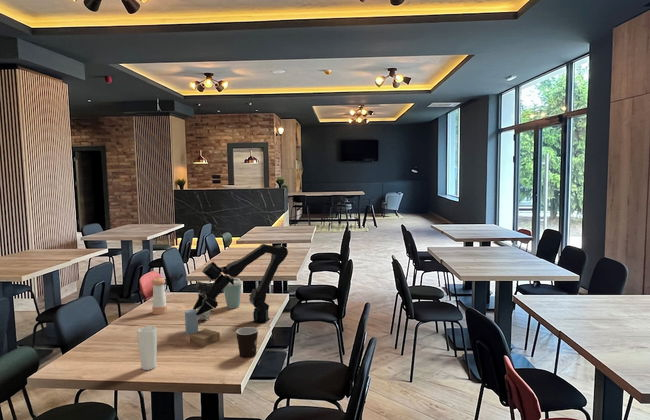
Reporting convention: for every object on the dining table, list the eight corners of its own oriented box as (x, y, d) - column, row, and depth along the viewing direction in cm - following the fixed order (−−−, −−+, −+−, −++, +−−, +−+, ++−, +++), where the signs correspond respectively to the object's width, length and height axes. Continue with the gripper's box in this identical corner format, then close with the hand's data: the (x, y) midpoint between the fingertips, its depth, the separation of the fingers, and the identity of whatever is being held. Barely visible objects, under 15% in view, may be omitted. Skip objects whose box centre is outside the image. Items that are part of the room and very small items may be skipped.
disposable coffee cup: (240, 309, 237) (239, 282, 236) (220, 310, 237) (219, 282, 236) (244, 303, 247) (243, 277, 246) (225, 304, 248) (224, 277, 246)
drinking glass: (142, 364, 170) (140, 326, 169) (160, 363, 171) (158, 325, 169) (136, 372, 163) (134, 332, 162) (155, 371, 164) (153, 331, 163)
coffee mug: (248, 361, 171) (247, 336, 170) (232, 356, 176) (231, 332, 175) (267, 350, 181) (267, 327, 180) (252, 346, 185) (251, 323, 185)
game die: (206, 328, 220) (206, 316, 214) (191, 321, 221) (190, 309, 215) (215, 314, 227) (216, 302, 220) (201, 308, 228) (201, 296, 222)
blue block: (196, 329, 207) (195, 309, 206) (198, 333, 203) (197, 311, 202) (185, 331, 205) (184, 310, 204) (187, 335, 201) (186, 313, 200)
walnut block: (205, 337, 198) (205, 328, 198) (219, 341, 193) (219, 332, 193) (189, 343, 191) (189, 334, 191) (203, 348, 186) (203, 338, 185)
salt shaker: (170, 311, 236) (168, 276, 235) (158, 315, 230) (156, 279, 229) (161, 309, 240) (159, 274, 239) (149, 313, 234) (147, 277, 232)
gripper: (202, 271, 213) (179, 296, 209) (209, 279, 196) (184, 307, 193) (219, 285, 217) (196, 310, 213) (227, 294, 200) (203, 322, 197)
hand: (195, 312), depth 204 cm, fingers open, 9 cm apart
